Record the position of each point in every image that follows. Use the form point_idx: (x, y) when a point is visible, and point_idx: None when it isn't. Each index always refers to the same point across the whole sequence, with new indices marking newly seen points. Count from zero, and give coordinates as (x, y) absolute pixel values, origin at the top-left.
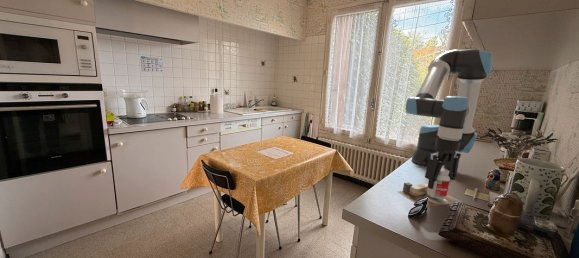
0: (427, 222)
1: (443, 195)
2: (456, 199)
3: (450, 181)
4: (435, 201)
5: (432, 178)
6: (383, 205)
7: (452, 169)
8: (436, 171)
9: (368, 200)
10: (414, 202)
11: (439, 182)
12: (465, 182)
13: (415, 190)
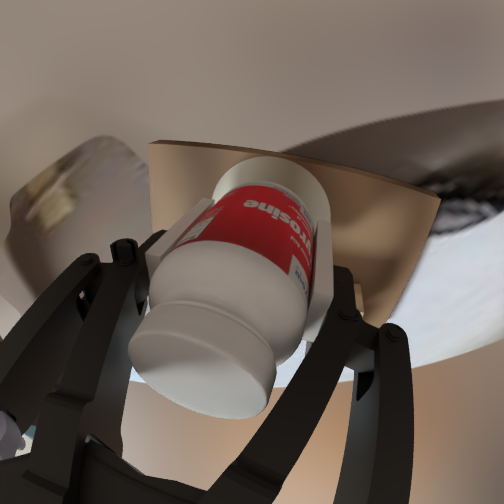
0: (492, 137)
1: (275, 191)
2: (155, 170)
3: (139, 249)
4: (304, 202)
5: (383, 335)
6: (492, 295)
7: (70, 321)
8: (327, 398)
9: (489, 331)
10: (420, 251)
11: (302, 276)
12: (33, 251)
13: (363, 307)
